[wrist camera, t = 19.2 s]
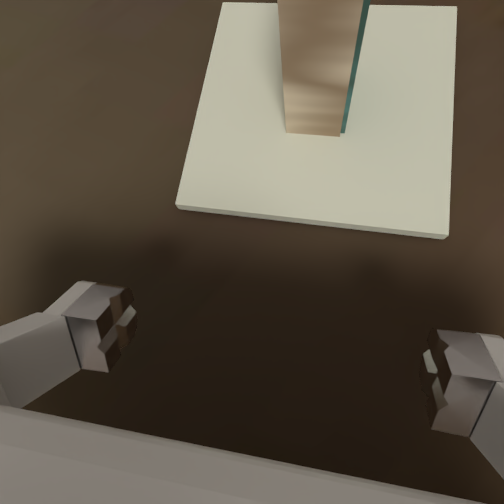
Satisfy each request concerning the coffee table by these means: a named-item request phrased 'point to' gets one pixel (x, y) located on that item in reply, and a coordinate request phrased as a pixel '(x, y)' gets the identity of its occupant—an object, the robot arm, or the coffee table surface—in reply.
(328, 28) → the card deck block
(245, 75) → the sage mat
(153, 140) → the coffee table surface
